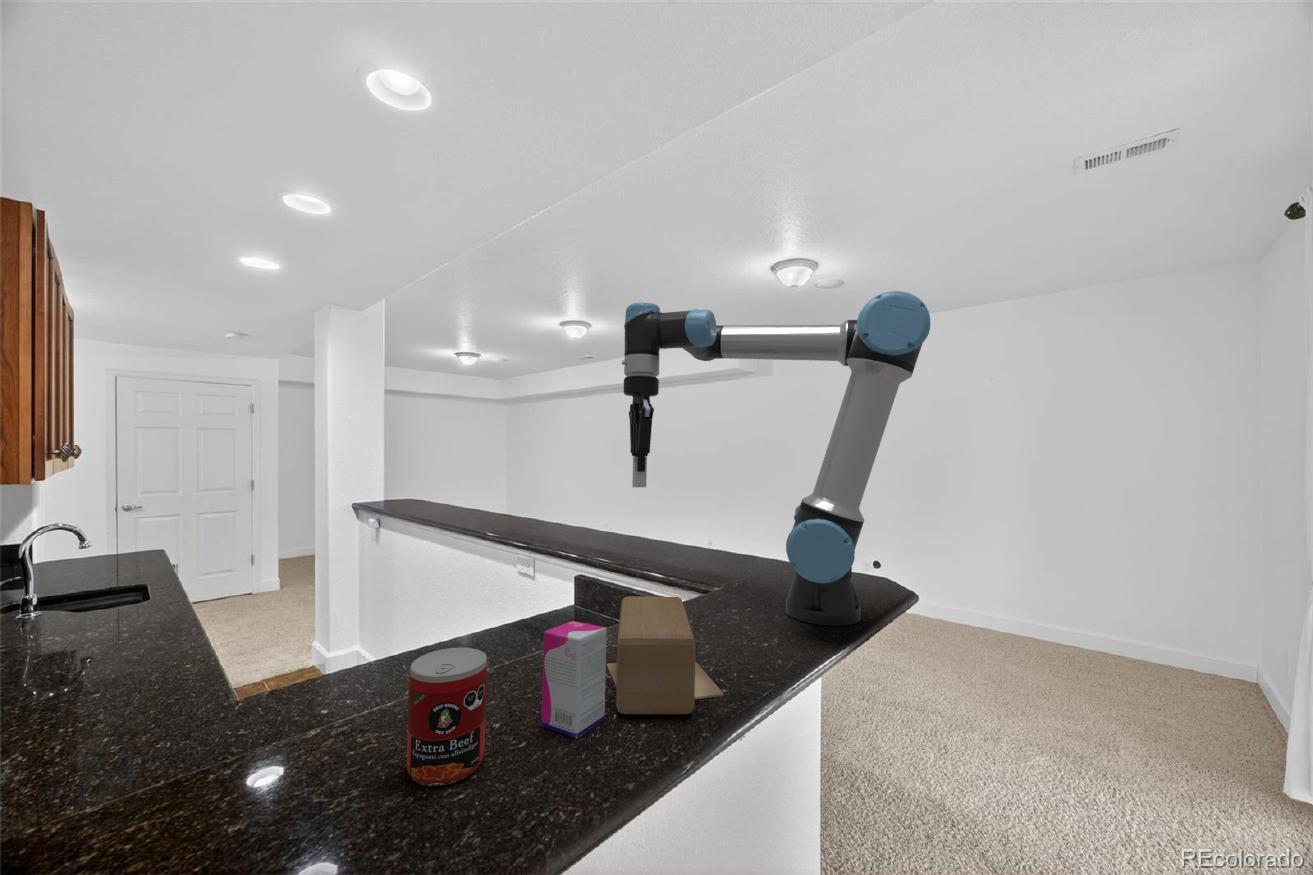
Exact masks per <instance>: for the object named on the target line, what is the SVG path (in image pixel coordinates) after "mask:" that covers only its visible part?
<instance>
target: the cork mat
mask: <svg viewBox="0 0 1313 875" xmlns="http://www.w3.org/2000/svg"><path fill="white" fill-rule="evenodd" d="M606 667H607V669H608V671H609V674H610V676H611V679H612V681H613V683H614V685H615V687H616V686H617V662H612V663H611V662H610V663H606ZM724 696H725V694H724V692H723V691H722V690H721V689H720V687H718V686H717V684H716V683H715V681H713V679H712V678H711V677H710V676H709V675H708V674H707V673H706V672H705V670H704V669H703V668H702V667H701V666H700V665H699V663H698V662H696V660H695V700H698V699H699V700H700V699H701V700H702V699H709V698H717V697H724Z"/></svg>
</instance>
